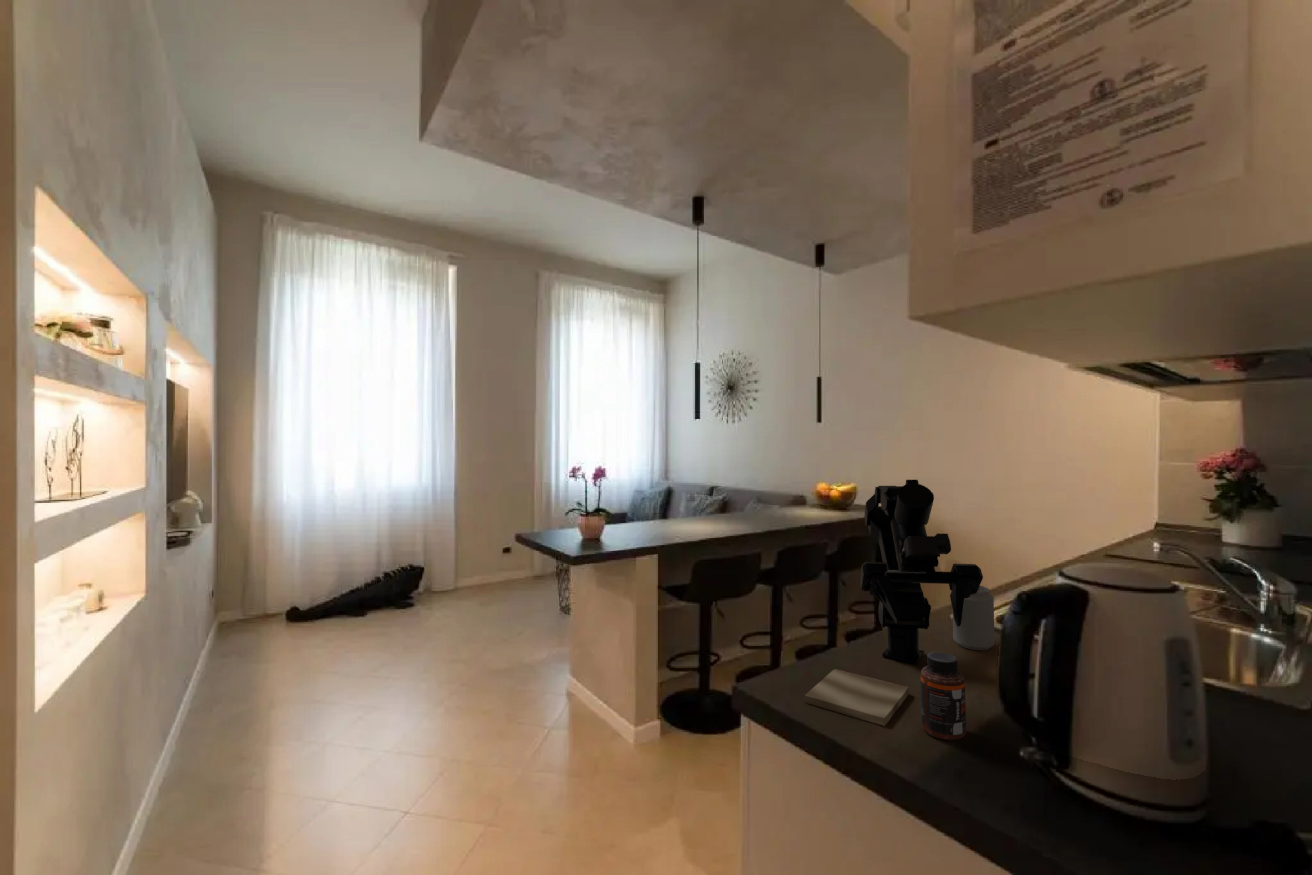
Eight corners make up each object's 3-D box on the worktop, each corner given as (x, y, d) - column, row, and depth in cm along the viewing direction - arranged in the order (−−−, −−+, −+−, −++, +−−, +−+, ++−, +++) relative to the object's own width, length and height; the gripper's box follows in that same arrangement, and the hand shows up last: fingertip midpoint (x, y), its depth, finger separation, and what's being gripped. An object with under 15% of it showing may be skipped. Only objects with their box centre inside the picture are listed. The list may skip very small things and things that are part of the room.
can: (947, 637, 122) (946, 582, 122) (985, 638, 121) (983, 582, 121) (961, 651, 114) (960, 592, 114) (1001, 652, 113) (1000, 592, 113)
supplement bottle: (972, 744, 81) (970, 665, 81) (927, 741, 82) (925, 663, 82) (958, 723, 87) (957, 649, 87) (917, 720, 88) (915, 647, 88)
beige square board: (834, 675, 105) (834, 668, 105) (908, 694, 97) (908, 687, 97) (804, 702, 95) (804, 695, 95) (884, 726, 87) (884, 718, 87)
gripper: (860, 515, 99) (871, 596, 88) (977, 516, 95) (1004, 601, 84) (855, 551, 107) (865, 630, 96) (964, 553, 103) (987, 635, 92)
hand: (928, 623), depth 92 cm, fingers open, 9 cm apart
